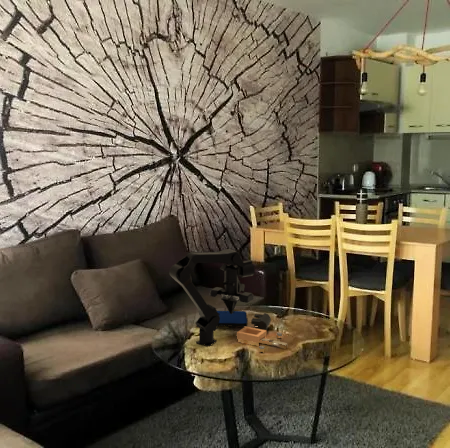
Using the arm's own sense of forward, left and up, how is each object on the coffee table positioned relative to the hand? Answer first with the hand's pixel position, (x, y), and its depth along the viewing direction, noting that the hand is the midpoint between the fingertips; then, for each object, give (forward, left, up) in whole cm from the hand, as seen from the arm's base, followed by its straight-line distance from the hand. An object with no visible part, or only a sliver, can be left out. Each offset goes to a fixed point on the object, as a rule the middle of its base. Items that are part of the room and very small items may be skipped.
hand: (231, 313), depth 242 cm
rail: (0, -15, -11) cm, 18 cm away
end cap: (+13, -8, -11) cm, 19 cm away
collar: (0, -10, -11) cm, 15 cm away
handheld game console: (+13, +7, -11) cm, 18 cm away
